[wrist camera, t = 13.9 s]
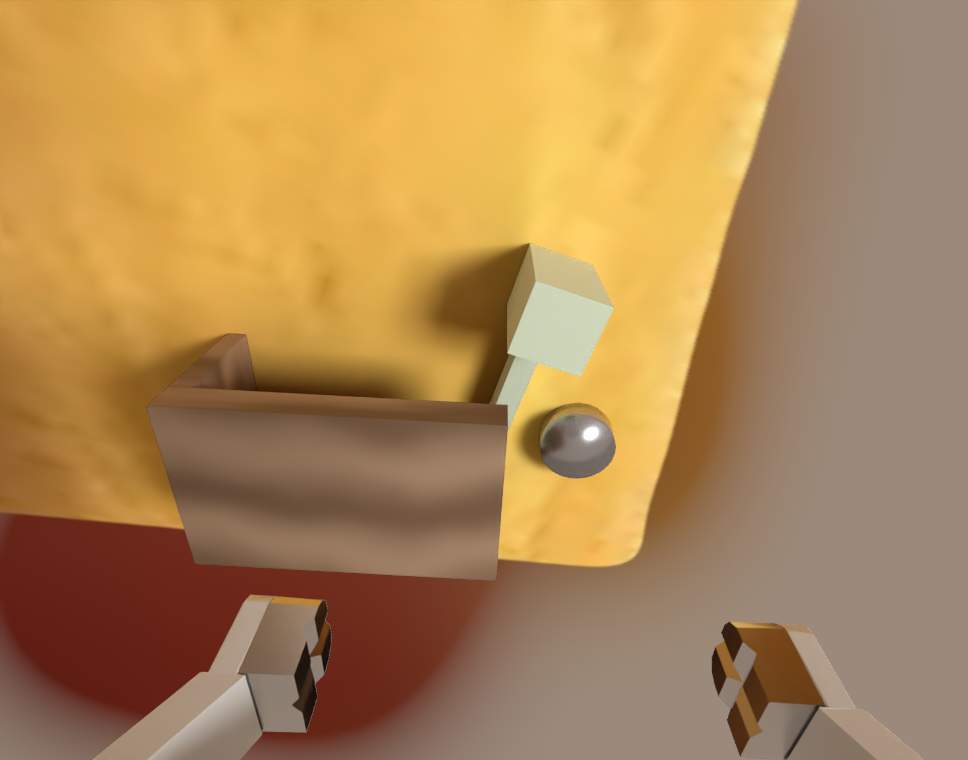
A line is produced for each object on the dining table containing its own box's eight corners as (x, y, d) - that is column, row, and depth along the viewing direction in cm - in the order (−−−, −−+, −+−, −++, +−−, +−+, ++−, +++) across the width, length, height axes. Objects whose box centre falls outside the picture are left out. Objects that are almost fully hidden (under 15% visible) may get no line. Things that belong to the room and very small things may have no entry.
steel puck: (561, 391, 36) (564, 406, 34) (624, 419, 37) (630, 436, 35) (527, 444, 38) (527, 461, 36) (587, 470, 39) (590, 488, 37)
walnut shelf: (227, 333, 34) (145, 406, 27) (506, 348, 34) (508, 425, 26) (256, 469, 40) (195, 563, 32) (497, 482, 40) (495, 580, 32)
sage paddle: (530, 243, 31) (535, 281, 25) (593, 264, 31) (613, 307, 25) (451, 451, 38) (440, 519, 32) (503, 466, 39) (502, 536, 33)
